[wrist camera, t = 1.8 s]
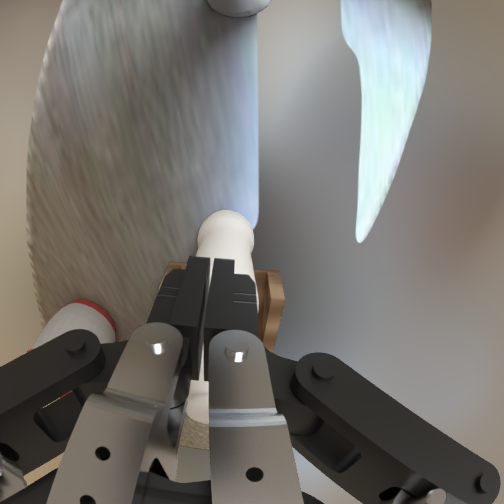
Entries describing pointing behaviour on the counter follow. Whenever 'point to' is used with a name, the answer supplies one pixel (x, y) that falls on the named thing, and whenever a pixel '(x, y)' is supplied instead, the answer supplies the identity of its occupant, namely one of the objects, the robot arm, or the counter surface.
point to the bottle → (213, 246)
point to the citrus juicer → (79, 323)
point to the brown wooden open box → (260, 302)
